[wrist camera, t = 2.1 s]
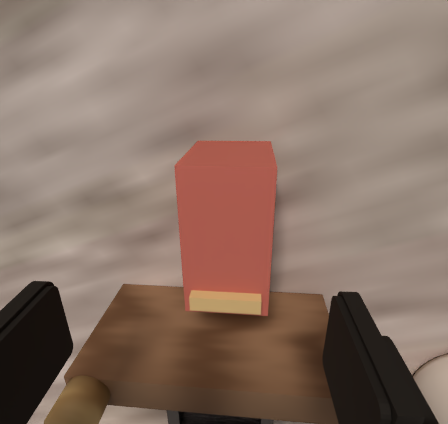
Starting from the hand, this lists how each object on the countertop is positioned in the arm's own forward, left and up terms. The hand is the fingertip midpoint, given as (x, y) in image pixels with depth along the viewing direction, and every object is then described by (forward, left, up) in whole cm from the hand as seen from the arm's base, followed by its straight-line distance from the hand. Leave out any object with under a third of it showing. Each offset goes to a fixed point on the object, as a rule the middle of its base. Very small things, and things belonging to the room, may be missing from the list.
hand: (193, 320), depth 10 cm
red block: (-1, 0, -11) cm, 11 cm away
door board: (0, +8, -11) cm, 13 cm away
